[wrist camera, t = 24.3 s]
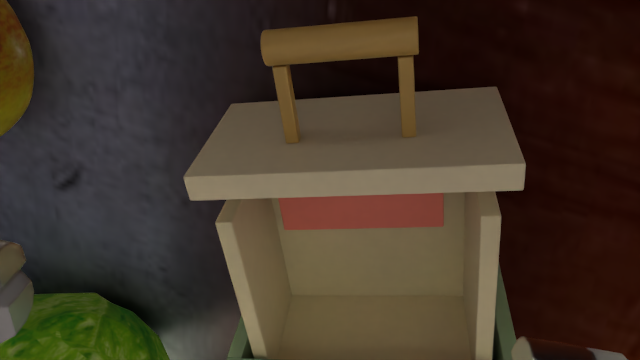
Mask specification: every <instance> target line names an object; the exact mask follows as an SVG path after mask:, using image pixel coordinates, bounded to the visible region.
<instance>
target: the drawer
mask: <svg viewBox="0 0 640 360" xmlns="http://www.w3.org/2000/svg"><path fill="white" fill-rule="evenodd" d="M261 52H262V57H263V60H264V63H265V65H266V66H273V68H272V69H273V75H274V80H275V86H276V91H277V97H278V101H269V102H254V103H239V104H231V105H230V107H229V108H228V110H227V111H226V113H225V114H224V116H223V117H222V119H221V120H220V122H219V124H218V125H217V127H216V128H215V130H214V131H213V133H212V134H211V136H210V137H209V139H208V140H207V142H206V143H205V145H204V146H203V148H202V149H201V151H200V152H199V154H198V155H197V157H196V159H195V160H194V162H193V163H192V165H191V166H190V168H189V169H188V171H187V172H186V174H185V175H184V177H183V179H184V182H185V185H186V189H187V192H188V195H189V198H190V201H200V200H226V202H225V204H224V206H223V208H222V210H221V212H220V214H219V216H218V218H217V220H216V222H215V225H216V228H217V231H218V235H219V238H220V242H221V245H222V249H223V252H224V256H225V259H226V263H227V266H228V270H229V273H230V277H231V280H232V283H233V287H234V290H235V294H236V297H237V301H238V304H239V308H240V311H241V315H242V318H243V322H244V325H245V329H246V332H247V335H248V339H249V342H250V346H251V349H252V353H253V356H254V359H280V360H492V354H493V339H494V324H495V308H496V293H497V278H498V262H499V247H500V232H501V213H500V209H499V205H498V201H497V197H496V194H495V191H520V190H523V189H524V181H525V170H526V163H525V160H524V158H523V155H522V152H521V150H520V147H519V144H518V142H517V139H516V136H515V134H514V131H513V129H512V126H511V123H510V121H509V118H508V115H507V113H506V110H505V107H504V105H503V102H502V99H501V97H500V94H499V91H498V89H497V87H482V88H467V89H452V90H437V91H422V92H415V84H414V56H413V55H417V54H419V40H418V18H417V17H416V16H415V17H404V18H393V19H382V20H371V21H360V22H349V23H338V24H327V25H316V26H305V27H294V28H283V29H272V30H264V31H263V32H262V34H261ZM392 56H398V73H399V92H400V93H391V94H376V95H361V96H345V97H330V98H315V99H300V100H295V97H294V91H293V85H292V79H291V73H290V66H289V65H290V64H303V63H316V62H328V61H341V60H354V59H367V58H380V57H392ZM424 193H444V226H443V227H411V228H365V229H320V230H284V225H283V220H282V215H281V211H280V206H279V201H278V198H296V197H328V196H360V195H392V194H424Z"/></svg>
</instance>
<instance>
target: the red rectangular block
mask: <svg viewBox="0 0 640 360" xmlns="http://www.w3.org/2000/svg"><path fill="white" fill-rule="evenodd" d="M278 201H279V206H280V211H281V215H282V220H283V225H284V230H320V229H365V228H411V227H443V226H444V193H424V194H392V195H360V196H328V197H296V198H278Z"/></svg>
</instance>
